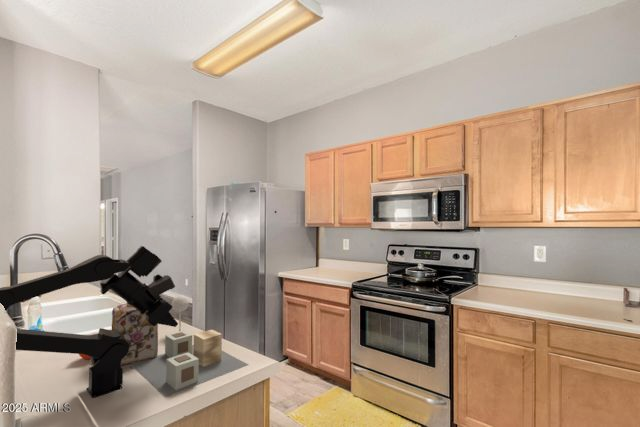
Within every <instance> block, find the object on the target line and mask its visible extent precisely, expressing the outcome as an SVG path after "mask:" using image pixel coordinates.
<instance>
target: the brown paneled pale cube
mask: <svg viewBox="0 0 640 427" xmlns="http://www.w3.org/2000/svg"><path fill="white" fill-rule="evenodd" d="M164 338H165V339H164V354H166V355H167V356H168V357H170V358H172V357H175V356H178V355H181V354H185V353H188V352H189V353H190V354H192V345H193V335H192V333H189V332H188V331H185V330H181V331H180V332H179V331H177V332H173V333H169V334H166V335H165V337H164Z"/></svg>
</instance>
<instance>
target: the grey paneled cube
mask: <svg viewBox="0 0 640 427" xmlns="http://www.w3.org/2000/svg"><path fill="white" fill-rule="evenodd" d="M198 372H199V359H198V358H197V357H195V356H193V355H192V354H190V353H189V352H188V353H185V354H181V355H178V356H175V357H172V358H168V359H166V382H167V383H168V384H169V385H170V386H171V387H173V388H174V389H175V390H177V389H180V388H183V387H185V386H188V385H190V384H193V383H196V382H198Z"/></svg>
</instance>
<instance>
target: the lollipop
mask: <svg viewBox="0 0 640 427" xmlns="http://www.w3.org/2000/svg"><path fill="white" fill-rule="evenodd" d="M189 303H190V301H189V298H188V297H187V296H185V295H183V294H182V295H181V294H180V295H177V296H175V297H174V298H173V299H172V301H171V306H173V307H172V309H173V310H174V311H175V312H179V316H178V317H179V319H178V320H179V322H178V324H179V329H178V330H179V331H178V332H180V331H182V330H181V327H182V326H181V325H182V324H181V323H182V322H181V321H182V318H181V317H182V312H184V311H185V310H186V309H187V308H188V307H189V306H190V305H189Z"/></svg>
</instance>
